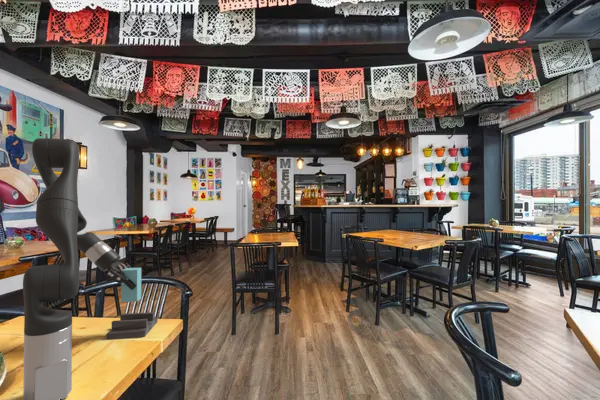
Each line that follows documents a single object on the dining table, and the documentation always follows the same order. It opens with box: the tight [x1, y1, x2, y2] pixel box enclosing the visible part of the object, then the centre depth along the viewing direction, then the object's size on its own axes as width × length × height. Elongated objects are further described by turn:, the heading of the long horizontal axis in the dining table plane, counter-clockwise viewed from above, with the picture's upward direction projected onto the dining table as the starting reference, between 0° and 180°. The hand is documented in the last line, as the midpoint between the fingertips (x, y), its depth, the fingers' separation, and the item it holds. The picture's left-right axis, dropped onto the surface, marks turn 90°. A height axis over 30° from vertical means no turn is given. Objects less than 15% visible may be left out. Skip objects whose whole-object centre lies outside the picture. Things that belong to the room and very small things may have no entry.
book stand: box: [106, 311, 158, 340], centre depth 110 cm, size 13×13×5 cm
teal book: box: [120, 267, 142, 303], centre depth 110 cm, size 4×6×12 cm
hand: (136, 286), depth 111 cm, fingers closed on teal book, 4 cm apart
